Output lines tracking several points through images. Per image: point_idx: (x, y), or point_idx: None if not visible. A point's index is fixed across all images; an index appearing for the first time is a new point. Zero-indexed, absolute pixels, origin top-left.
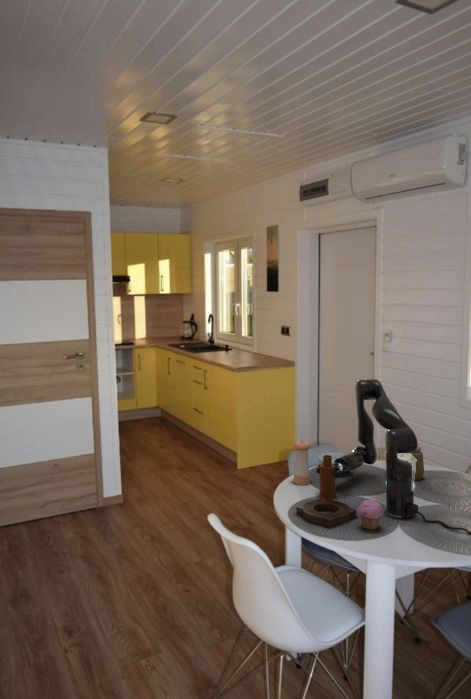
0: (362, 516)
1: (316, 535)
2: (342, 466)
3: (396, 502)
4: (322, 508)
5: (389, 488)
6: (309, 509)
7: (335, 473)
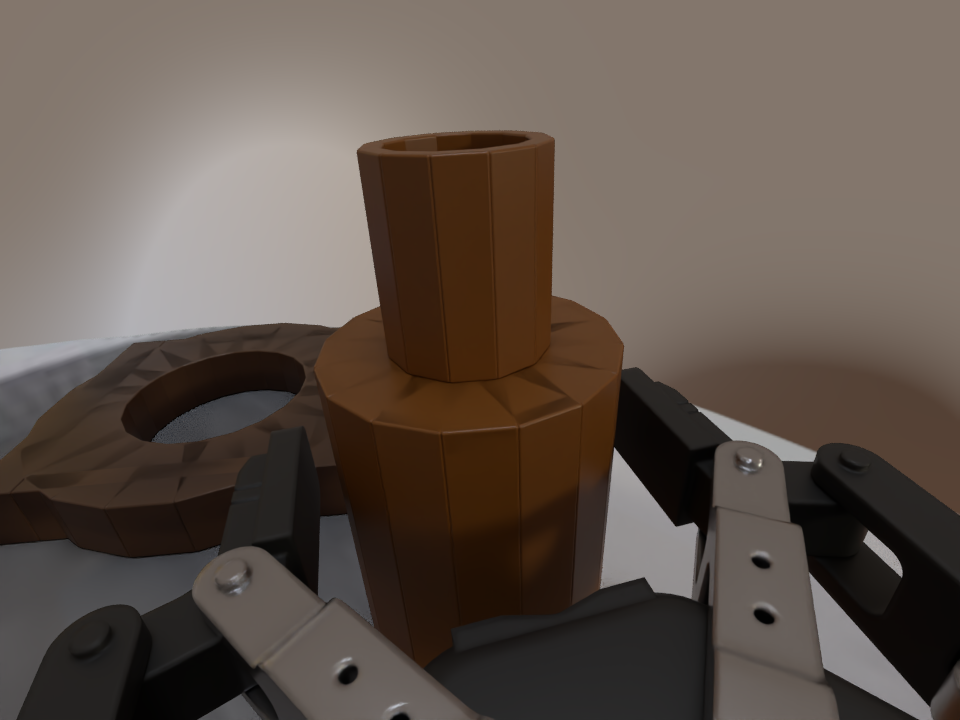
0: None
1: (181, 333)
2: None
3: None
4: None
5: None
6: (299, 340)
7: (278, 434)
